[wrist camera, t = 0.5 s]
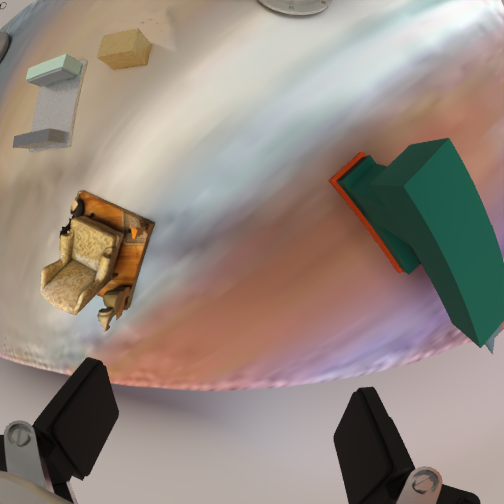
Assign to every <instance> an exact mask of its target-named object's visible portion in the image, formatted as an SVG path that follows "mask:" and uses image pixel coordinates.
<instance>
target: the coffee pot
mask: <svg viewBox="0 0 504 504" xmlns="http://www.w3.org/2000/svg"><path fill="white" fill-rule="evenodd" d="M3 3H5V2H3ZM0 7H1V4H0ZM5 7H6V6H5ZM0 9H1V8H0ZM8 45H9V37H8V34H7V33H6V32H0V61H1V60H2V58H3V56H4V55H5V53H6V51H7V48H8Z"/></svg>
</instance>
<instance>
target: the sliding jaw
mask: <svg viewBox="0 0 504 504" xmlns="http://www.w3.org/2000/svg"><path fill="white" fill-rule="evenodd" d="M81 65H82V62H80V61H78V60H76V59H75V58H73V57H71V56H69V55H68V54H65V55H62V56H59V57H56V58H54V59H51V60H48V61H46V62H43V63H41V64H38V65H36V66H34V67H31V68H29V70H28V73H27V76H26V81H28V82H29V83H32V84H35V85H38V86H44V85H47V84H50V83H53V82H57V81H60V80H64V79H67V78H71V77H74V76H76V75H79V72H80V69H81Z"/></svg>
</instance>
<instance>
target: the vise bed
mask: <svg viewBox="0 0 504 504" xmlns="http://www.w3.org/2000/svg"><path fill="white" fill-rule="evenodd" d="M80 62H82V65H81V69H80V72H79V75H76V76H74V77H71V78H67V79H64V80H60V81H57V82H53V83H50V84H47V85H44V86H41V87H40V91H39V95H38V100H37V104H36V109H35V114H34V120H33V125H32V132H30V133H26V134H22V135H18V136H14V142H13V148H29V152H33V151H39V150H46V149H53V148H61V147H70V146H71V141H72V133H73V127H74V120H75V115H76V109H77V104H78V99H79V95H80V90H81V86H82V82H83V78H84V74H85V70H86V67H87V63H88V61H87V60H83V61H80Z"/></svg>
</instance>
